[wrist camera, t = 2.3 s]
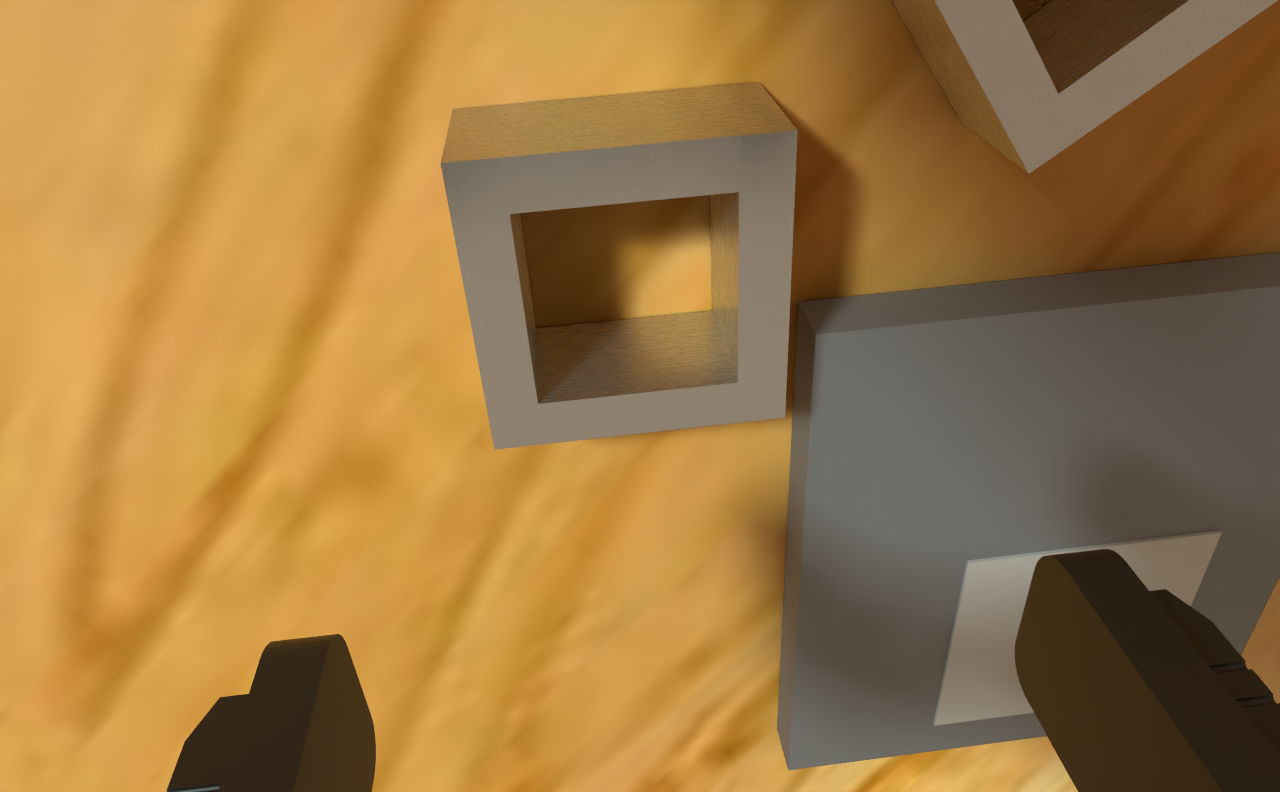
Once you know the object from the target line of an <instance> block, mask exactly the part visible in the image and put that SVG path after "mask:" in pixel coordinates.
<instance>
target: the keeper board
mask: <svg viewBox="0 0 1280 792" xmlns="http://www.w3.org/2000/svg"><path fill="white" fill-rule="evenodd" d="M1099 549H1110V550H1113V551H1115V552H1117V553H1118V554H1119V555H1120V556H1121V557H1122V558H1123V559H1124V560H1125V561H1126V562H1127V563H1128V565H1129V566H1130V567H1131V568H1132V570H1133V571H1134V572H1135V574H1136V575H1137V576H1138V577H1139V579H1140V580H1141V581H1142V582H1143V584H1144V585H1145V586H1146V587H1147V589H1148V590H1149V591H1154V590H1162V589H1166V590H1168V591H1169V592H1171V593H1172V594H1173V595H1175V596H1176V597H1178V598H1179V599H1181V600H1182V601H1183V602H1185V603H1186V604H1188V605H1189V606H1191V607H1192V608H1193V609H1195V610H1196V611H1198V612H1199V613H1201V614H1202V615H1204V616H1205V617H1206V618H1208V619H1209V620H1211V621H1212V622H1213V623H1214V624H1215V626H1216V627H1217V628H1218V629H1219V630H1220V632H1221V633H1222V634H1223V635H1224V636H1225V637H1226V639H1227V640H1228V641H1229V642H1230V643H1231V645H1232V646H1233V647H1234V648H1235V649H1236V651H1237V652H1238V653H1239V654H1240V655H1241V654H1242V652H1243V650H1244V648H1245V646H1246V644H1247V642H1248V640H1249V638H1250V636H1251V634H1252V632H1253V630H1254V628H1255V626H1256V624H1257V622H1258V619H1259V617H1260V615H1261V613H1262V611H1263V609H1264V607H1265V605H1266V603H1267V601H1268V599H1269V597H1270V595H1271V593H1272V591H1273V589H1274V587H1275V585H1276V583H1277V581H1278V579H1279V577H1280V252H1277V253H1267V254H1257V255H1247V256H1238V257H1228V258H1218V259H1209V260H1199V261H1189V262H1179V263H1170V264H1160V265H1150V266H1141V267H1131V268H1121V269H1111V270H1102V271H1092V272H1082V273H1072V274H1063V275H1053V276H1043V277H1034V278H1024V279H1014V280H1004V281H995V282H985V283H975V284H966V285H956V286H946V287H936V288H927V289H917V290H907V291H898V292H888V293H878V294H868V295H859V296H849V297H839V298H829V299H820V300H810V301H800V302H798V320H797V340H796V360H795V380H794V401H793V421H792V441H791V461H790V482H789V502H788V522H787V542H786V563H785V583H784V603H783V623H782V644H781V664H780V684H779V704H778V725H777V730H778V734H779V737H780V741H781V745H782V749H783V752H784V756H785V760H786V764H787V767H788V770H794V769H801V768H809V767H816V766H824V765H831V764H839V763H847V762H854V761H862V760H869V759H877V758H884V757H892V756H899V755H907V754H914V753H922V752H930V751H937V750H945V749H952V748H960V747H967V746H975V745H982V744H990V743H997V742H1005V741H1013V740H1020V739H1028V738H1035V737H1043V736H1047V735H1046V733H1045V731H1044V729H1043V728H1042V726H1041V724H1040V722H1039V720H1038V719H1037V717H1036V715H1035V713H1034V711H1033V710H1032V708H1031V706H1030V704H1029V702H1028V701H1027V699H1026V697H1025V695H1024V693H1023V690H1022V688H1021V685H1020V682H1019V679H1018V675H1017V670H1016V665H1015V642H1016V638H1017V634H1018V630H1019V626H1020V622H1021V618H1022V615H1023V611H1024V607H1025V603H1026V599H1027V595H1028V592H1029V588H1030V584H1031V580H1032V576H1033V572H1034V569H1035V566H1036V563H1037V562H1038V560H1039V559H1040V558H1041V557H1043V556H1047V555H1056V554H1064V553H1073V552H1082V551H1091V550H1099Z"/></svg>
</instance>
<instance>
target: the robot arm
mask: <svg viewBox="0 0 1280 792" xmlns="http://www.w3.org/2000/svg"><path fill="white" fill-rule="evenodd" d="M1015 665H1016V670H1017V675H1018V679H1019V682H1020V685H1021V688H1022V690H1023V693H1024V695H1025V697H1026V699H1027V701H1028V702H1029V704H1030V706H1031V708H1032V710H1033V711H1034V713H1035V715H1036V717H1037V719H1038V720H1039V722H1040V724H1041V726H1042V728H1043V729H1044V731H1045V733H1046V735H1047V736H1048V738H1049V740H1050V742H1051V744H1052V745H1053V747H1054V749H1055V751H1056V753H1057V754H1058V756H1059V758H1060V760H1061V762H1062V763H1063V765H1064V767H1065V769H1066V771H1067V772H1068V774H1069V776H1070V778H1071V779H1072V781H1073V783H1074V785H1075V787H1076V788H1077V790H1078V792H1280V703H1278V704H1277V703H1276V702H1275V701H1274V699H1273V693H1272V692H1271V691H1270V690H1269V689H1268V687H1267V686H1266V685H1265V684H1264V683H1263V682H1262V680H1261V679H1260V678H1259V677H1258V676H1257V674H1256V673H1255V672H1254V671H1253V670H1252V669H1250V670H1248V669H1247V668H1246V665H1245V660H1244V659H1243V658H1242V657H1241V655H1240V654H1239V653H1238V652H1237V651H1236V649H1235V648H1234V647H1233V646H1232V645H1231V643H1230V642H1229V641H1228V640H1227V639H1226V637H1225V636H1224V635H1223V634H1222V633H1221V632H1220V630H1219V629H1218V628H1217V627H1216V626H1215V624H1214V623H1213V622H1212V621H1211V620H1209V619H1208V618H1206V617H1205V616H1204V615H1202V614H1201V613H1199V612H1198V611H1196V610H1195V609H1193V608H1192V607H1191V606H1189V605H1188V604H1186V603H1185V602H1183V601H1182V600H1181V599H1179V598H1178V597H1176V596H1175V595H1173V594H1172V593H1171V592H1169V591H1168V590H1166V589H1162V590H1154V591H1149V590H1148V589H1147V587H1146V586H1145V585H1144V584H1143V582H1142V581H1141V580H1140V579H1139V577H1138V576H1137V575H1136V574H1135V572H1134V571H1133V570H1132V568H1131V567H1130V566H1129V565H1128V563H1127V562H1126V561H1125V560H1124V559H1123V558H1122V557H1121V556H1120V555H1119V554H1118V553H1117V552H1115V551H1113V550H1110V549H1099V550H1091V551H1082V552H1073V553H1064V554H1056V555H1047V556H1043V557H1041V558H1040V559H1039V560H1038V562H1037V563H1036V566H1035V569H1034V572H1033V576H1032V580H1031V584H1030V588H1029V592H1028V595H1027V599H1026V603H1025V607H1024V611H1023V615H1022V618H1021V622H1020V626H1019V630H1018V634H1017V638H1016V642H1015ZM375 761H376V744H375V732H374V725H373V721H372V717H371V714H370V711H369V708H368V705H367V702H366V699H365V696H364V693H363V691H362V688H361V685H360V682H359V679H358V676H357V673H356V670H355V667H354V665H353V662H352V659H351V656H350V653H349V650H348V647H347V645H346V642H345V640H344V638H343V637H342V636H341V635H339V634H334V635H326V636H317V637H308V638H299V639H291V640H282V641H274V642H270V643H269V644H268V645H267V646H266V647H265V649H264V651H263V653H262V655H261V658H260V661H259V664H258V667H257V670H256V674H255V677H254V680H253V683H252V686H251V689H250V692H249V694H245V695H236V696H228V697H220V698H219V699H218V701H217V702H216V703H215V704H214V706H213V707H212V708H211V709H210V711H209V712H208V713H207V714H206V716H205V717H204V718H203V719H202V721H201V722H200V723H199V724H198V726H197V727H196V728H195V729H194V731H193V732H192V733H191V734H190V736H189V737H188V738H187V739H186V741H185V743H184V745H183V748H182V751H181V753H180V756H179V759H178V762H177V764H176V767H175V770H174V772H173V775H172V778H171V780H170V783H169V786H168V788H167V792H372V786H373V780H374V773H375Z"/></svg>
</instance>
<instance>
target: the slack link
mask: <svg viewBox="0 0 1280 792" xmlns="http://www.w3.org/2000/svg"><path fill="white" fill-rule="evenodd" d="M1277 1H1278V0H1052V1H1050V2H1049V3H1048V4H1046V5H1045V6H1044V7H1042V8H1041V9H1040V10H1038V11H1037V12H1036V13H1034V14H1033V15H1032V16H1030V17H1029V18H1028V19H1026V20H1025V21H1024V22H1023V21H1022V19H1021V17H1020V15H1019V13H1018V11H1017V9H1016V7H1015V5H1014V3H1013V1H1012V0H892V2H893V4H894V5H895V7H896V9H897V11H898V12H899V14H900V16H901V18H902V19H903V21H904V23H905V25H906V26H907V28H908V30H909V32H910V33H911V35H912V37H913V38H914V40H915V42H916V44H917V45H918V47H919V49H920V51H921V52H922V54H923V56H924V58H925V59H926V61H927V63H928V65H929V66H930V68H931V70H932V72H933V73H934V75H935V77H936V79H937V80H938V82H939V84H940V86H941V87H942V89H943V91H944V93H945V94H946V96H947V98H948V100H949V101H950V103H951V105H952V107H953V108H954V110H955V112H956V114H957V115H958V117H959V119H960V121H961V122H962V123H963V124H964V125H966V126H967V127H968V128H970V129H971V130H972V131H973V132H975V133H976V134H977V135H979V136H980V137H981V138H983V139H984V140H985V141H986V142H988V143H989V144H990V145H992V146H993V147H994V148H996V149H997V150H998V151H1000V152H1001V153H1002V154H1003V155H1005V156H1006V157H1007V158H1009V159H1010V160H1011V161H1013V162H1014V163H1015V164H1017V165H1018V166H1019V167H1020V168H1022V169H1023V170H1024V171H1026V172H1027V173H1028V174H1030V173H1031V172H1033V171H1034V170H1035V169H1037V168H1038V167H1040V166H1041V165H1043V164H1044V163H1045V162H1047V161H1048V160H1050V159H1051V158H1053V157H1054V156H1056V155H1057V154H1058V153H1060V152H1061V151H1063V150H1064V149H1066V148H1067V147H1068V146H1070V145H1071V144H1073V143H1074V142H1076V141H1077V140H1078V139H1080V138H1081V137H1083V136H1084V135H1086V134H1087V133H1089V132H1090V131H1091V130H1093V129H1094V128H1096V127H1097V126H1099V125H1100V124H1101V123H1103V122H1104V121H1106V120H1107V119H1109V118H1110V117H1111V116H1113V115H1114V114H1116V113H1117V112H1119V111H1120V110H1122V109H1123V108H1124V107H1126V106H1127V105H1129V104H1130V103H1132V102H1133V101H1134V100H1136V99H1137V98H1139V97H1140V96H1142V95H1143V94H1145V93H1146V92H1147V91H1149V90H1150V89H1152V88H1153V87H1155V86H1156V85H1157V84H1159V83H1160V82H1162V81H1163V80H1165V79H1166V78H1167V77H1169V76H1170V75H1172V74H1173V73H1175V72H1176V71H1178V70H1179V69H1180V68H1182V67H1183V66H1185V65H1186V64H1188V63H1189V62H1190V61H1192V60H1193V59H1195V58H1196V57H1198V56H1199V55H1200V54H1202V53H1203V52H1205V51H1206V50H1208V49H1209V48H1211V47H1212V46H1213V45H1215V44H1216V43H1218V42H1219V41H1221V40H1222V39H1223V38H1225V37H1226V36H1228V35H1229V34H1231V33H1232V32H1234V31H1235V30H1236V29H1238V28H1239V27H1241V26H1242V25H1244V24H1245V23H1246V22H1248V21H1249V20H1251V19H1252V18H1254V17H1255V16H1256V15H1258V14H1259V13H1261V12H1262V11H1264V10H1265V9H1267V8H1268V7H1269V6H1271V5H1272V4H1274V3H1275V2H1277Z"/></svg>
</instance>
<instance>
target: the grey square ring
mask: <svg viewBox="0 0 1280 792" xmlns="http://www.w3.org/2000/svg"><path fill="white" fill-rule="evenodd" d="M797 135H798V130H797V129H796V128H795V126H794V125H793V124H792V123H791V121H790V120H789V119H788V118H787V116H786V115H785V114H784V113H783V111H782V110H781V109H780V107H779V106H778V105H777V104H776V102H775V101H774V100H773V99H772V97H771V96H770V95H769V94H768V92H767V91H766V90H765V89H764V87H763V86H762V85H761V84H760V82H757V83H745V84H734V85H723V86H712V87H700V88H689V89H678V90H667V91H655V92H644V93H633V94H621V95H610V96H599V97H588V98H576V99H565V100H554V101H542V102H531V103H520V104H509V105H497V106H486V107H475V108H463V109H453V110H452V115H451V119H450V124H449V128H448V133H447V137H446V141H445V146H444V150H443V155H442V159H441V168H442V173H443V178H444V184H445V189H446V194H447V199H448V205H449V210H450V215H451V221H452V226H453V231H454V236H455V242H456V247H457V252H458V258H459V263H460V268H461V274H462V279H463V284H464V289H465V295H466V300H467V305H468V311H469V316H470V321H471V327H472V332H473V337H474V342H475V348H476V353H477V358H478V364H479V369H480V374H481V380H482V385H483V390H484V395H485V401H486V406H487V411H488V417H489V422H490V427H491V433H492V438H493V443H494V448H495V449H504V448H513V447H522V446H531V445H540V444H549V443H559V442H568V441H577V440H586V439H595V438H604V437H613V436H622V435H631V434H640V433H649V432H659V431H668V430H677V429H686V428H695V427H704V426H713V425H722V424H731V423H740V422H750V421H759V420H768V419H777V418H785V411H786V388H787V365H788V342H789V319H790V296H791V273H792V250H793V227H794V204H795V181H796V158H797ZM705 195H710V199H711V277H712V311H702V312H692V313H682V314H673V315H663V316H653V317H643V318H634V319H624V320H614V321H605V322H595V323H585V324H575V325H566V326H556V327H546V328H536V323H535V316H534V309H533V302H532V295H531V288H530V281H529V274H528V267H527V260H526V252H525V245H524V238H523V231H522V224H521V217H520V213H526V212H537V211H547V210H558V209H568V208H579V207H589V206H600V205H610V204H621V203H631V202H642V201H652V200H663V199H673V198H684V197H694V196H705Z"/></svg>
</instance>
